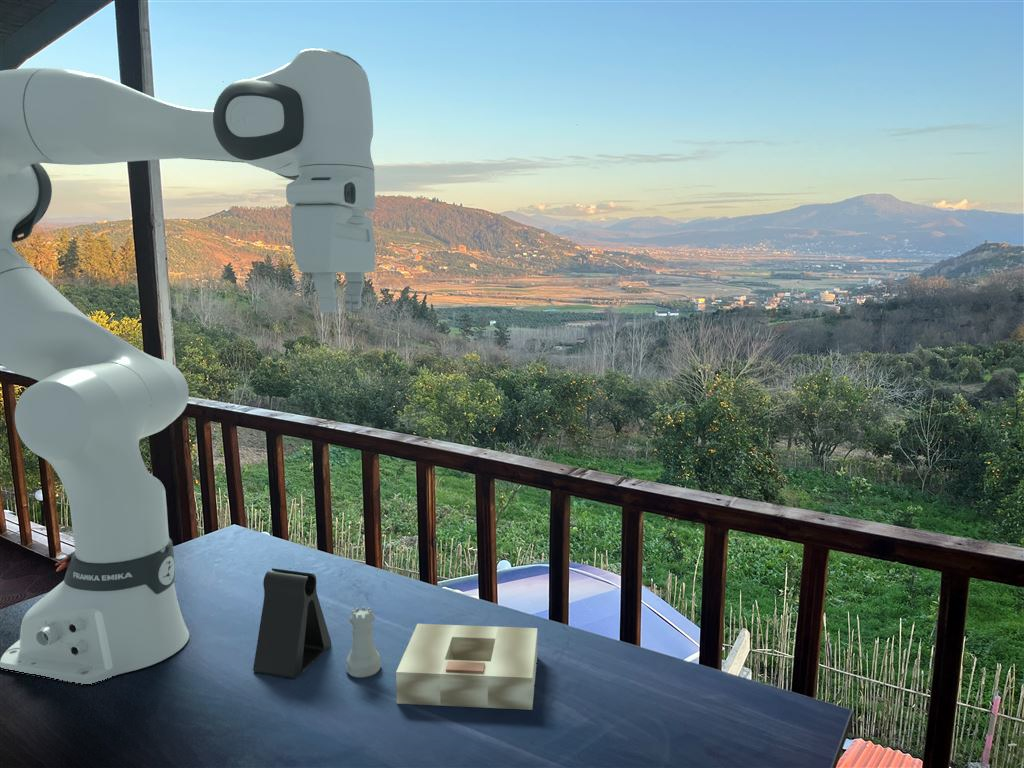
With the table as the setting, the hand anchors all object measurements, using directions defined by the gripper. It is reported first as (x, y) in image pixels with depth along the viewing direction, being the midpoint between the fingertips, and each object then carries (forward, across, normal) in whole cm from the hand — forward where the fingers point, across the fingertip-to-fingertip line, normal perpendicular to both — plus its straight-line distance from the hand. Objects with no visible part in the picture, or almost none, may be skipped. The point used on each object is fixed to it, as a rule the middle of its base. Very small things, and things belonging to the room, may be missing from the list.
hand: (341, 310), depth 90 cm
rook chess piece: (+46, +3, +2) cm, 46 cm away
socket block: (+46, +4, +16) cm, 49 cm away
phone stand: (+46, +1, -8) cm, 47 cm away
